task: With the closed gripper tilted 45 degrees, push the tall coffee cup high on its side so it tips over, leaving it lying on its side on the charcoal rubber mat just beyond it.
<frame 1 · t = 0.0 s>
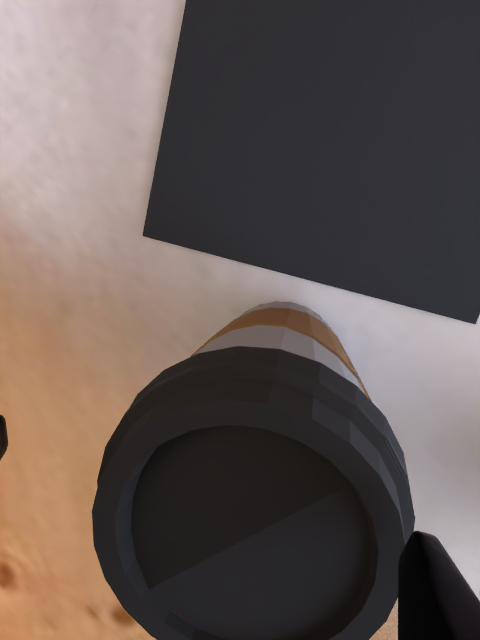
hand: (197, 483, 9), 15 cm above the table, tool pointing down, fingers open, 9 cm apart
mat: (367, 52, 21), on the table
coffee cup: (281, 354, 25), on the table
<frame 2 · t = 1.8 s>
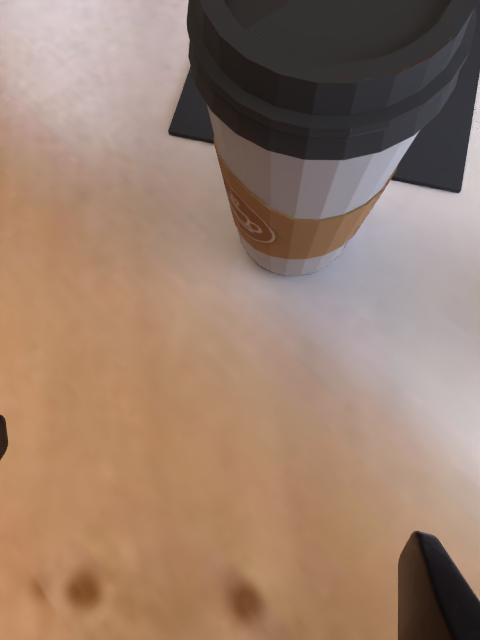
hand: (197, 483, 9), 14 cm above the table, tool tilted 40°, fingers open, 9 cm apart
mat: (344, 21, 29), on the table
coffee cup: (292, 230, 26), on the table
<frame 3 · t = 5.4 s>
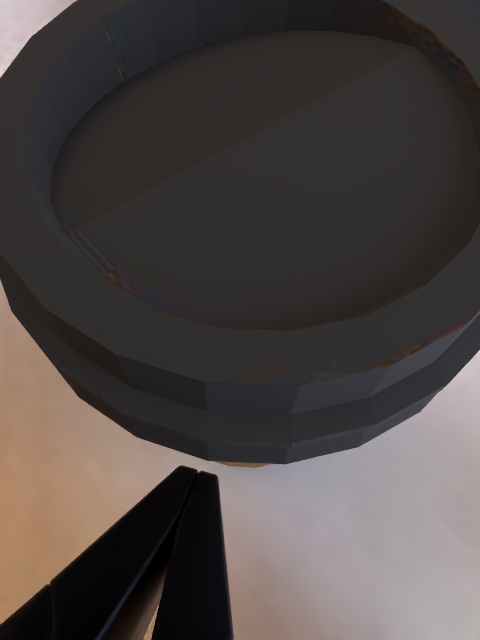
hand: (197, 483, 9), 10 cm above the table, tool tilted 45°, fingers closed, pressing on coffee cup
mat: (314, 121, 24), on the table
coffee cup: (245, 393, 20), on the table, touching gripper
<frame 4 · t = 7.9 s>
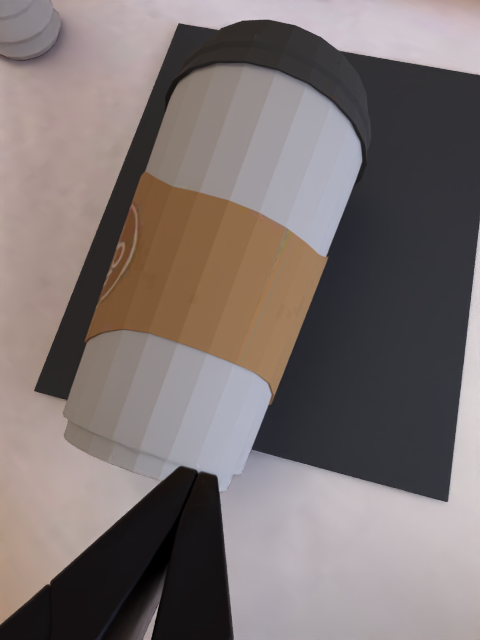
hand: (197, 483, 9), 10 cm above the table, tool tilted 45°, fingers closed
mat: (287, 221, 22), on the table
rook chess piece: (28, 38, 26), on the table
coffee cup: (145, 466, 15), point 4 cm above the table, touching mat
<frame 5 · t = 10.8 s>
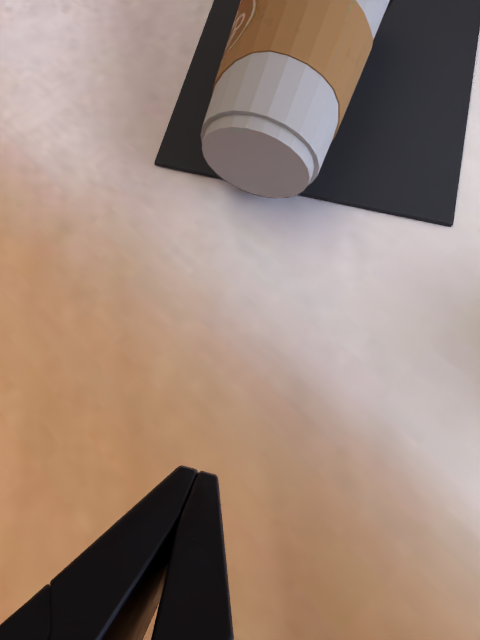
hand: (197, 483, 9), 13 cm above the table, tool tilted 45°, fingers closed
mat: (333, 55, 29), on the table
coffee cup: (253, 169, 23), point 4 cm above the table, touching mat
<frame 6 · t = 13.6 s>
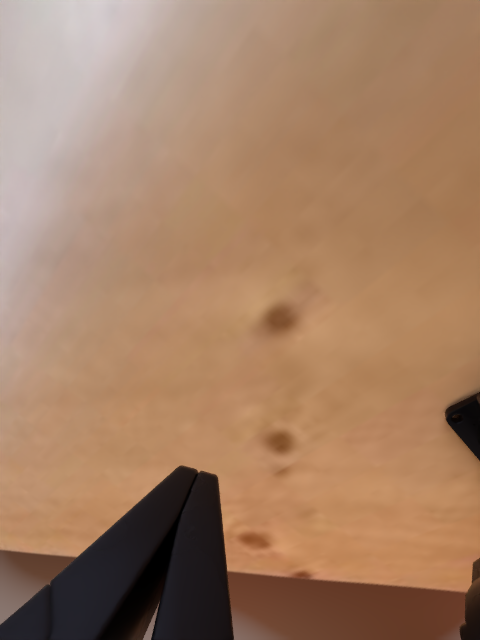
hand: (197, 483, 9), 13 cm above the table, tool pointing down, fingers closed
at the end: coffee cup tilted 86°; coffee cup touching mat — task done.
